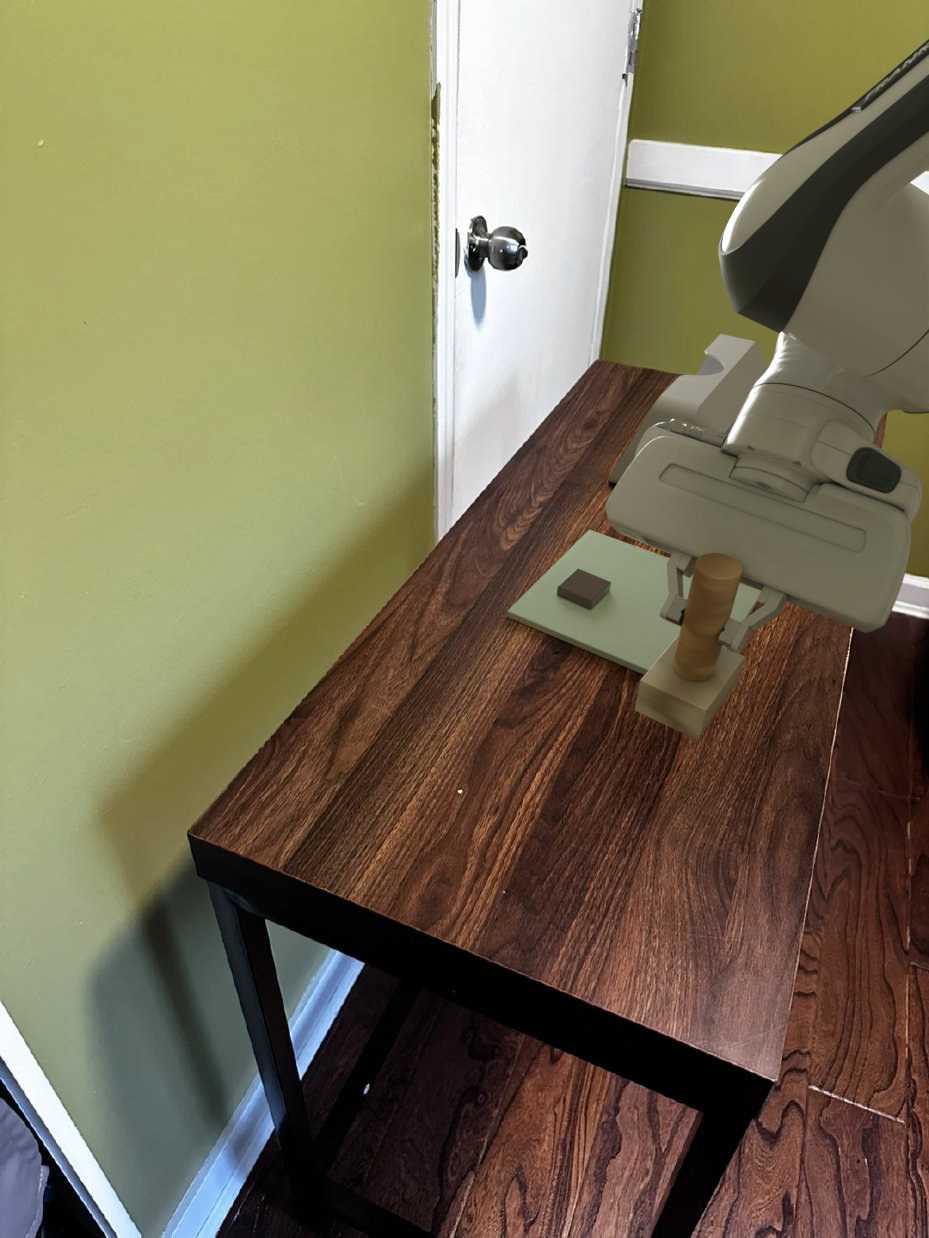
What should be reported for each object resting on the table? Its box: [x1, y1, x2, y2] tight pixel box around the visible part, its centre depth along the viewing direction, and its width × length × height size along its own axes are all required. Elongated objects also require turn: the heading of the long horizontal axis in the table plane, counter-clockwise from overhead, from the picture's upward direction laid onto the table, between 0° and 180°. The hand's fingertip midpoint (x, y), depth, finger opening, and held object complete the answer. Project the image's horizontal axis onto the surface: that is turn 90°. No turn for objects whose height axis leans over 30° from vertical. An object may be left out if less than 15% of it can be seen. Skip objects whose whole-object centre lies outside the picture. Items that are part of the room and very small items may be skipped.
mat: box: [506, 529, 761, 676], centre depth 87 cm, size 20×18×1 cm
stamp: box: [634, 553, 746, 741], centre depth 60 cm, size 5×7×12 cm
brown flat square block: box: [557, 568, 611, 610], centre depth 87 cm, size 4×4×1 cm
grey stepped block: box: [607, 333, 770, 485], centre depth 107 cm, size 25×16×12 cm, turn 150°
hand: (699, 634), depth 59 cm, fingers closed on stamp, 3 cm apart
